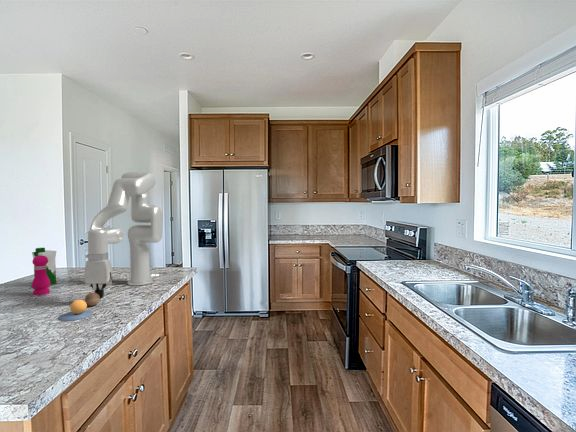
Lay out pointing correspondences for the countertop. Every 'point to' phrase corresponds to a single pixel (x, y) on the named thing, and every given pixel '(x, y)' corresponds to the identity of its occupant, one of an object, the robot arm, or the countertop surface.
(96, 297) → the brown egg
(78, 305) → the object ball
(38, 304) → the countertop surface
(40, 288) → the pepper mill
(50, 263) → the milk carton
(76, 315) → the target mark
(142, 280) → the robot arm
